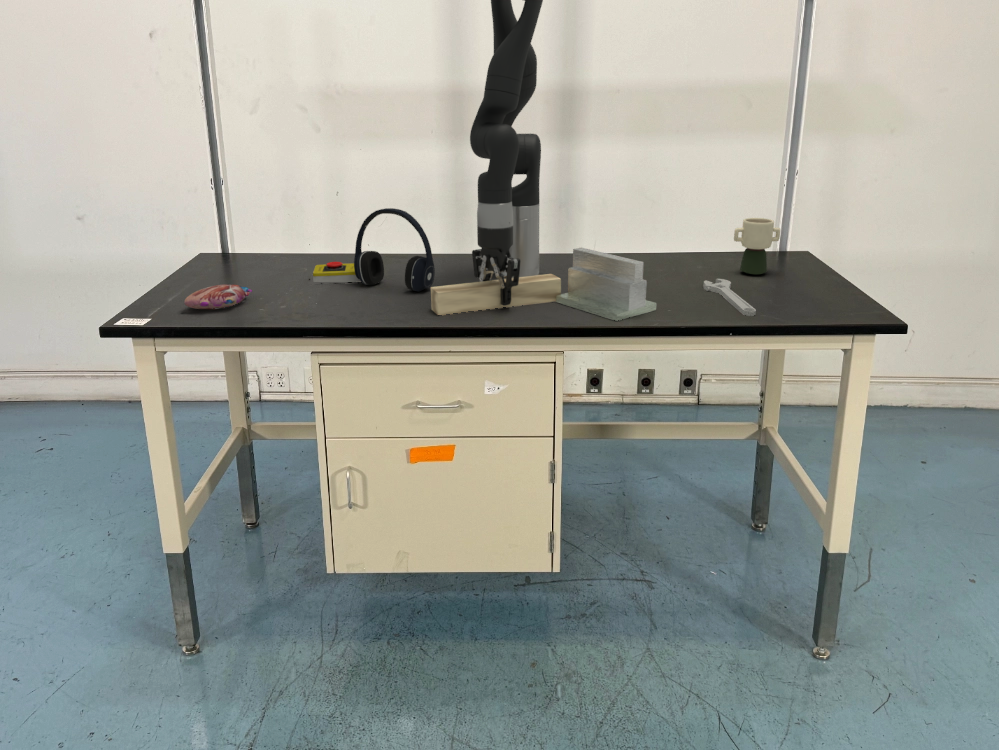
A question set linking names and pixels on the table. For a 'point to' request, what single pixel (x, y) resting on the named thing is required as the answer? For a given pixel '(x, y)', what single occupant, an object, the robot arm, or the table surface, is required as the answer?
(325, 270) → the emergency button
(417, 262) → the headphones
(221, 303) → the anatomical model
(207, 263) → the table surface
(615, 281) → the stand
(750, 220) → the trophy cup
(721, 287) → the adjustable wrench
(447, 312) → the pine rod
